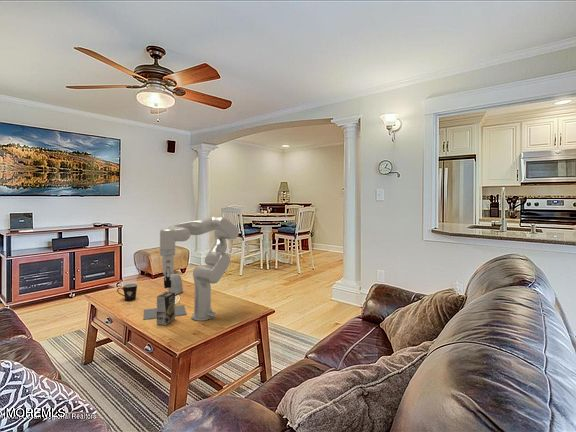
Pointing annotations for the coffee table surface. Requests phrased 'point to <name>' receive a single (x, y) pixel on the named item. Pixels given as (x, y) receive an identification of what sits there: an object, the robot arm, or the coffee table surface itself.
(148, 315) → the mat
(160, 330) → the coffee table surface
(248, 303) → the coffee table surface
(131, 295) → the coffee mug
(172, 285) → the decorative stone
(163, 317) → the coffee box
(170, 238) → the robot arm
